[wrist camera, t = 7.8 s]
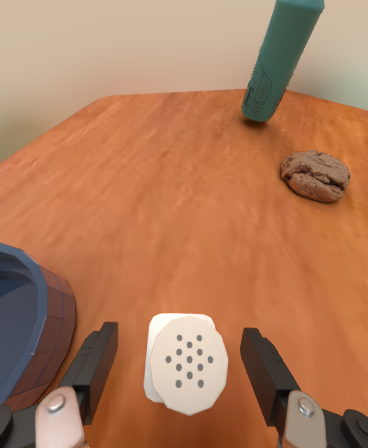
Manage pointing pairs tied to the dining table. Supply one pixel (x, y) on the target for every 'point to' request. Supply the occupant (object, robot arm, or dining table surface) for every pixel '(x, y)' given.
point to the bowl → (31, 326)
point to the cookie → (316, 175)
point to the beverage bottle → (279, 55)
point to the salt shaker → (184, 362)
